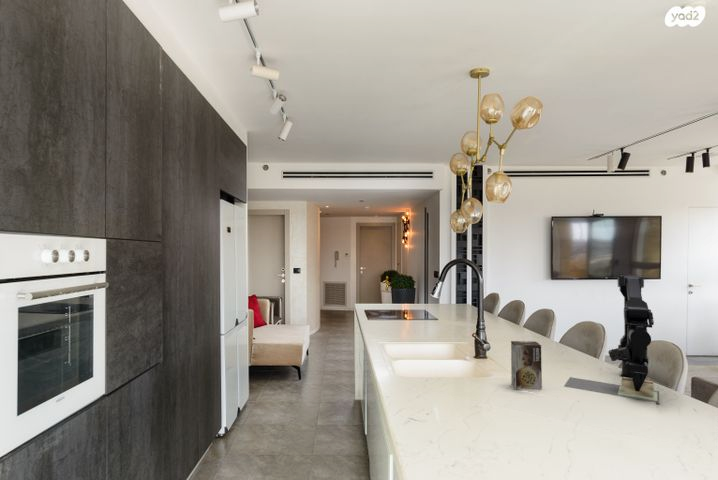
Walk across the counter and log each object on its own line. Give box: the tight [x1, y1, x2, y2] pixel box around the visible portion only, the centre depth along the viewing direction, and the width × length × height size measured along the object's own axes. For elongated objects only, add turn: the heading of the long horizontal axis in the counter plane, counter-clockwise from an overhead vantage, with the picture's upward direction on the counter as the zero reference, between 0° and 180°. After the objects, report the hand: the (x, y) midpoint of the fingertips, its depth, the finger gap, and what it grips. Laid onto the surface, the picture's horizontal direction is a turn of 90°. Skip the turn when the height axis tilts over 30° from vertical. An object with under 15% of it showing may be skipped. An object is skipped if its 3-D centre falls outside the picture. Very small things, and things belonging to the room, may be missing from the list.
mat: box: [563, 376, 660, 406], centre depth 150 cm, size 14×28×1 cm, turn 55°
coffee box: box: [510, 340, 543, 391], centre depth 152 cm, size 9×6×16 cm
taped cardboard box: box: [621, 377, 654, 398], centre depth 145 cm, size 9×5×4 cm, turn 55°
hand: (637, 387), depth 145 cm, fingers open, 9 cm apart
